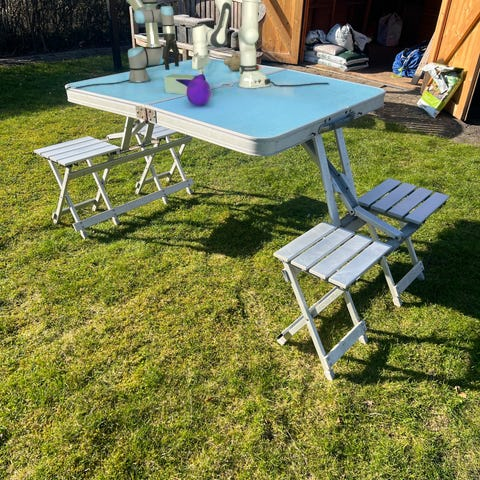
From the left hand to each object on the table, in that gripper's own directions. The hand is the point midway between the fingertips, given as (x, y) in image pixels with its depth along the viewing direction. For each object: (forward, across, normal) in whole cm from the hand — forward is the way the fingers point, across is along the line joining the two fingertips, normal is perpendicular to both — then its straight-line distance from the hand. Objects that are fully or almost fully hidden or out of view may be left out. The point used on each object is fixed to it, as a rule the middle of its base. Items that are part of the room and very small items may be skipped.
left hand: (172, 68), depth 299 cm
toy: (+15, -27, -29) cm, 43 cm away
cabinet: (+15, 0, -6) cm, 16 cm away
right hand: (+3, 0, -21) cm, 22 cm away
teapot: (+15, +83, -13) cm, 86 cm away
